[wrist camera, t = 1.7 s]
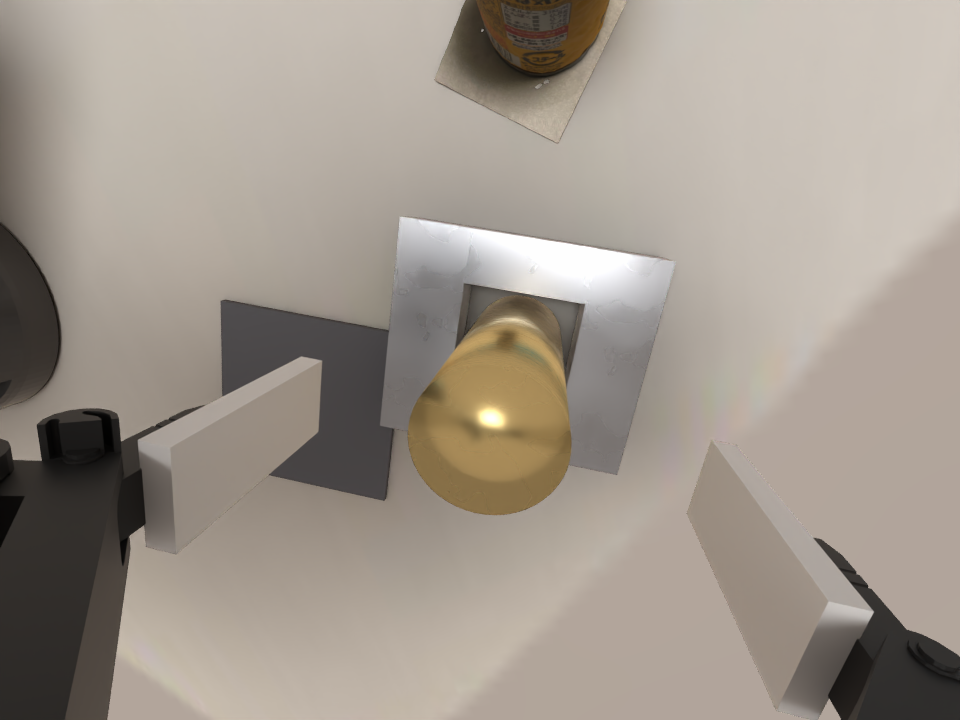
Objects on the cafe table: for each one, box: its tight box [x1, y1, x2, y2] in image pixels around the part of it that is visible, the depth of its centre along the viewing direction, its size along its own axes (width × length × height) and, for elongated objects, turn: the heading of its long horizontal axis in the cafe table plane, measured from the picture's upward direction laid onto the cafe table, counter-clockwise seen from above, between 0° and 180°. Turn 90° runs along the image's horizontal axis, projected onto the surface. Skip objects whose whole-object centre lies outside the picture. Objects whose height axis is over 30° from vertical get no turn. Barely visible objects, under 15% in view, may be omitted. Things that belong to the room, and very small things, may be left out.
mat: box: [221, 300, 394, 501], centre depth 31 cm, size 12×12×1 cm
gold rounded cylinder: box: [408, 295, 572, 515], centre depth 21 cm, size 5×5×14 cm
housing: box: [380, 216, 676, 475], centre depth 26 cm, size 14×12×3 cm
